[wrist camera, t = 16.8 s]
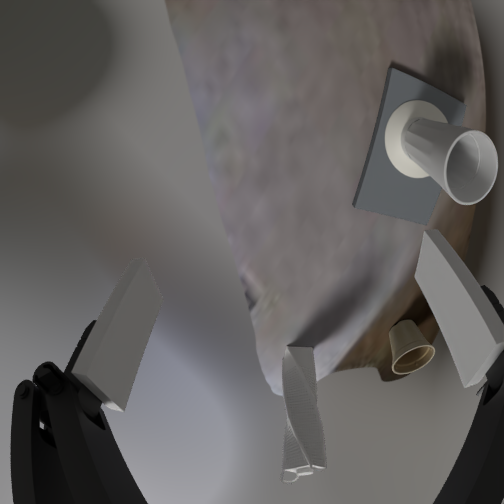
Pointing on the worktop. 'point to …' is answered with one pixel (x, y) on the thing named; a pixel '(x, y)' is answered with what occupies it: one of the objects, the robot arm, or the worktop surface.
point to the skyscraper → (301, 415)
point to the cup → (452, 157)
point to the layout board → (393, 157)
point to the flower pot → (409, 348)
